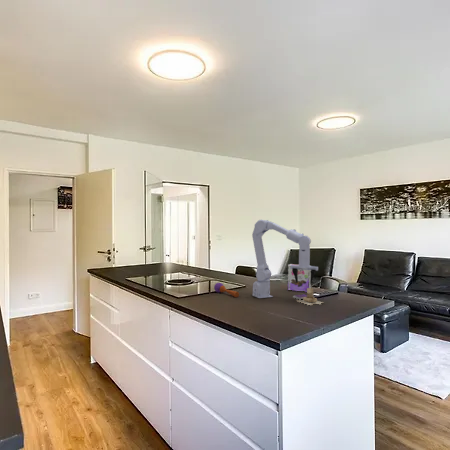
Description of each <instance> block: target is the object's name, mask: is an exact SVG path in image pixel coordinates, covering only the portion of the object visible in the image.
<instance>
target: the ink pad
mask: <svg viewBox="0 0 450 450" xmlns="http://www.w3.org/2000/svg"><path fill="white" fill-rule="evenodd" d="M303 297H307V294H295V295H292V298H293V299H295V298H296V299H295V300H298V299H299V300H301V299H303Z"/></svg>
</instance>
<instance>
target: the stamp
mask: <svg viewBox="0 0 450 450" xmlns="http://www.w3.org/2000/svg"><path fill="white" fill-rule="evenodd" d="M306 295H307V297H303V300H304V301H305V302H308V303H313V302H317V301H318V298H316V297H314V288H313V287H311V288H307V293H306Z"/></svg>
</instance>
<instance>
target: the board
mask: <svg viewBox="0 0 450 450" xmlns="http://www.w3.org/2000/svg"><path fill="white" fill-rule="evenodd" d="M296 302H297V303H300V302H301V303H300V304H302V303H304V304H303V305H305V304H307V305H306V306H308V305H310V306H314V305H313V304H319V305H322V304H321V303H324V302H323V301H320V300H317V302H313V303H308V302H305V301H304V300H298V299H296Z"/></svg>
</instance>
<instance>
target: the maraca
mask: <svg viewBox="0 0 450 450" xmlns="http://www.w3.org/2000/svg"><path fill="white" fill-rule="evenodd" d="M213 289H214V291H215V292H216V293H224V292H226V293H228V294H230V296H232V297H234V298H239V297H240V293H239V291H236V290H231V289H227V288H226V286H225V285H224V284H223V283H221V282H216V283H215V284H214V286H213Z"/></svg>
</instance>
